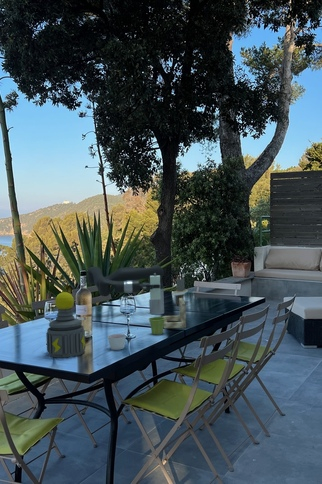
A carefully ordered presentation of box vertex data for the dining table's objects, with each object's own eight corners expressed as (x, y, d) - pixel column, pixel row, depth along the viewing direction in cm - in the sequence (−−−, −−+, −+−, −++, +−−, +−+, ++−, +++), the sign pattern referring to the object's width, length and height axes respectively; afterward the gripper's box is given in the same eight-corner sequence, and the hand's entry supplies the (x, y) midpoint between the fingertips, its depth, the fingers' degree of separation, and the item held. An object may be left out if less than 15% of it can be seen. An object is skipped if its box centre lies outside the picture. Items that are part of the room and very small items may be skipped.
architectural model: (192, 309, 353) (191, 282, 352) (158, 309, 359) (157, 282, 358) (200, 301, 390) (200, 276, 389) (169, 300, 396) (168, 276, 395)
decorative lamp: (58, 347, 252) (56, 289, 251) (92, 349, 247) (90, 289, 246) (39, 357, 234) (36, 294, 233) (75, 359, 229) (72, 295, 228)
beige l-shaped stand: (164, 328, 290) (163, 304, 290) (162, 320, 313) (161, 298, 313) (186, 327, 291) (185, 303, 290) (183, 320, 314) (182, 298, 313)
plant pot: (153, 336, 271) (153, 320, 270) (146, 333, 279) (145, 318, 279) (168, 334, 275) (168, 318, 275) (160, 331, 283) (160, 316, 283)
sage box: (150, 299, 299) (149, 274, 298) (150, 298, 304) (149, 273, 303) (160, 299, 299) (159, 273, 298) (160, 298, 304) (159, 272, 303)
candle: (126, 345, 252) (126, 333, 251) (125, 350, 243) (125, 337, 242) (108, 346, 251) (108, 334, 251) (107, 351, 242) (107, 338, 242)
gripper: (131, 281, 293) (159, 280, 294) (131, 279, 308) (159, 278, 308) (131, 294, 294) (160, 293, 294) (132, 291, 308) (159, 290, 308)
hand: (159, 285), depth 301 cm, fingers closed on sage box, 5 cm apart
